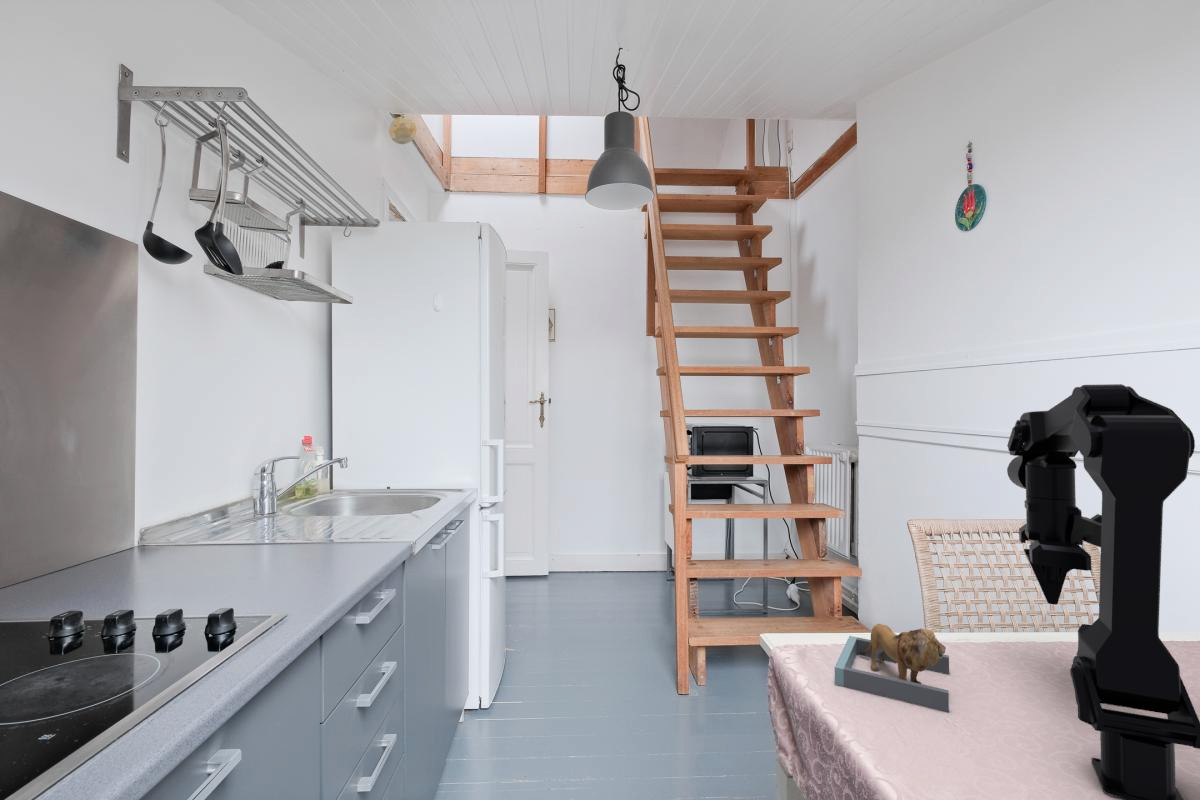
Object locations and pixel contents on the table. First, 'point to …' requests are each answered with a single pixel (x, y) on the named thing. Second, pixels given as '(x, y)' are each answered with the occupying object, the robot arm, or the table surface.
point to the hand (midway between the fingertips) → (1052, 603)
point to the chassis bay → (889, 679)
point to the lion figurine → (905, 650)
